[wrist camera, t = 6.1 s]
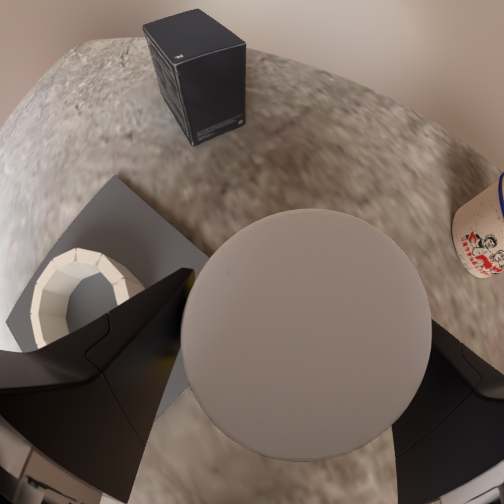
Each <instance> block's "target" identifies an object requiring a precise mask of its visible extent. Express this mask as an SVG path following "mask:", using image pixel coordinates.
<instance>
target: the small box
mask: <svg viewBox="0 0 504 504" xmlns="http://www.w3.org/2000/svg"><path fill="white" fill-rule="evenodd" d="M142 27H143V31H144V33H145V37H146V40H147V43H148V47H149V50H150V53H151V57H152V61H153V64H154V68H155V72H156V75H157V79H158V83H159V87H160V91H161V94H162V96H163V98H164V99H165V101H166V103H167V104H168V106H169V108H170V110H171V111H172V113H173V115H174V116H175V118H176V120H177V122H178V124H179V125H180V127H181V128H182V130H183V132H184V134H185V135H186V137H187V138H188V140H189V142H190V143H191V145H192V146H195V145H198V144H200V143H202V142H204V141H206V140H208V139H210V138H213V137H215V136H217V135H220V134H222V133H225V132H227V131H230V130H233V129H235V128H237V127H240V126H242V125H244V124H245V74H246V42H244V41H243V40H241V39H240V38H239V37H238V36H236V35H235V34H234V33H232V32H231V31H229V30H228V29H227V28H225V27H224V26H223V25H221V24H220V23H219V22H217V21H216V20H214V19H213V18H211V17H210V16H209V15H207V14H206V13H204V12H203V11H201V10H200V9H194V10H190V11H186V12H183V13H180V14H176V15H173V16H169V17H166V18H163V19H160V20H157V21H154V22H151V23H148V24H145V25H143V26H142Z"/></svg>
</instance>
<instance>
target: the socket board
mask: <svg viewBox="0 0 504 504" xmlns="http://www.w3.org/2000/svg"><path fill="white" fill-rule="evenodd" d="M209 259H210V258H209V257H208V256H207V255H206V254H204V253H203V252H202V251H201V250H200V249H198V248H197V247H196V246H195V245H194V244H193V243H191V242H190V241H189V240H188V239H187V238H186V237H184V236H183V235H182V234H181V233H180V232H179V231H177V230H176V229H175V228H174V227H173V226H172V225H171V224H169V223H168V222H167V221H166V220H165V219H164V218H163V217H161V216H160V215H159V214H158V213H157V212H156V211H155V210H153V209H152V208H151V207H150V206H149V205H148V204H147V203H146V202H144V201H143V200H142V199H141V198H140V197H139V196H138V195H137V194H136V193H134V192H133V191H132V190H131V189H130V188H129V187H128V186H127V185H126V184H124V183H123V182H122V181H121V180H120V179H119V178H118V177H117V176H116V175H114V176H113V177H112V178H111V179H110V180H109V181H108V182H107V183H106V184H105V185H104V187H103V188H102V189H101V190H100V191H99V192H98V193H97V194H96V195H95V196H94V197H93V199H92V200H91V201H90V202H89V203H88V204H87V205H86V207H85V208H84V209H83V210H82V211H81V212H80V214H79V215H78V216H77V217H76V218H75V220H74V221H73V222H72V223H71V225H70V226H69V227H68V228H67V230H66V231H65V232H64V233H63V235H62V236H61V237H60V239H59V240H58V241H57V243H56V244H55V245H54V247H53V248H52V249H51V251H50V252H49V253H48V255H47V256H46V258H45V259H44V261H43V262H42V263H41V265H40V266H39V268H38V269H37V271H36V272H35V274H34V275H33V277H32V278H31V280H30V281H29V283H28V285H27V286H26V288H25V289H24V291H23V293H22V294H21V296H20V298H19V299H18V301H17V303H16V304H15V306H14V308H13V310H12V311H11V313H10V315H9V317H8V319H7V321H6V324H7V325H8V327H9V329H10V331H11V333H12V335H13V336H14V338H15V340H16V342H17V343H18V345H19V347H20V348H21V350H22V352H31V351H34V350H37V349H39V348H42V347H44V346H46V345H48V344H50V343H51V342H53V341H55V340H57V339H59V338H61V337H63V336H65V335H67V334H69V333H71V332H73V331H75V330H77V329H79V328H81V327H83V326H85V325H86V324H88V323H90V322H92V321H93V320H95V319H97V318H98V317H100V316H102V315H103V314H105V313H108V311H110V310H112V309H113V308H115V307H116V306H118V305H120V304H121V303H123V302H125V301H126V300H128V299H130V298H131V297H133V296H135V295H136V294H138V293H140V292H141V291H143V290H145V289H146V288H148V287H150V286H151V285H153V284H155V283H156V282H158V281H160V280H161V279H163V278H165V277H166V276H168V275H170V274H171V273H173V272H175V271H176V270H178V269H180V268H182V267H185V268H192V269H194V271H195V281H196V279H197V277H198V275H199V274H200V272H201V270H202V269H203V267H204V266H205V264H206V263H207V261H208V260H209ZM188 385H189V382H188V379H187V375H186V371H185V367H184V362H183V356H182V350H181V347H180V350H179V353H178V355H177V358H176V361H175V364H174V366H173V369H172V372H171V374H170V377H169V380H168V383H167V386H166V388H165V391H164V394H163V397H162V400H161V402H160V405H159V408H158V411H157V414H156V417H155V420H154V422H155V421H156V419H157V418H158V417H159V416H160V415H161V414H162V413H163V412H164V411H165V410H166V409H167V408H168V407H169V406H170V404H171V403H172V402H173V401H174V400H175V399H176V398H177V397H178V396H179V395H180V394H181V392H182V391H183V390H184V389H185V388H186V387H187V386H188ZM154 422H153V423H154Z"/></svg>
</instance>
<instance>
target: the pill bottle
mask: <svg viewBox="0 0 504 504" xmlns="http://www.w3.org/2000/svg"><path fill="white" fill-rule="evenodd" d="M431 338H432V324H431V313H430V307H429V302H428V298H427V295H426V292H425V289H424V286H423V284H422V281H421V279H420V277H419V274H418V273H417V271H416V269H415V267H414V266H413V264H412V262H411V261H410V260H409V258H408V257H407V255H406V254H405V253H404V252H403V251H402V250H401V248H400V247H399V246H398V245H397V244H396V243H395V242H394V241H393V240H392V239H391V238H390V237H388V236H387V235H386V234H385V233H384V232H382V231H381V230H379V229H377V228H376V227H374V226H373V225H371V224H369V223H368V222H366V221H364V220H362V219H359V218H357V217H354V216H352V215H349V214H346V213H342V212H338V211H334V210H328V209H296V210H289V211H284V212H280V213H276V214H273V215H270V216H267V217H265V218H262V219H260V220H258V221H256V222H254V223H252V224H250V225H248V226H246V227H245V228H243V229H241V230H240V231H238V232H237V233H236V234H234V235H233V236H232V237H231V238H229V239H228V240H227V241H226V242H224V244H223V245H222V246H221V247H220V248H219V249H218V250H217V251H216V252H215V253H214V254H213V255H212V256H211V258H210V259H209V260H208V261H207V263H206V264H205V266H204V267H203V269H202V270H201V272H200V274H199V275H198V277H197V279H196V281H195V283H194V285H193V287H192V289H191V291H190V293H189V296H188V298H187V301H186V304H185V307H184V311H183V315H182V322H181V350H182V356H183V362H184V367H185V371H186V375H187V379H188V382H189V384H190V387H191V389H192V391H193V393H194V395H195V397H196V399H197V401H198V403H199V404H200V406H201V407H202V409H203V410H204V412H205V413H206V415H207V416H208V417H209V418H210V420H211V421H212V422H213V423H214V424H215V425H216V426H217V427H218V428H219V429H220V430H221V431H222V432H223V433H224V434H225V435H227V436H228V437H229V438H230V439H232V440H233V441H235V442H236V443H238V444H239V445H241V446H243V447H245V448H247V449H249V450H251V451H253V452H255V453H258V454H261V455H263V456H266V457H270V458H275V459H279V460H285V461H294V462H310V461H319V460H326V459H330V458H334V457H338V456H341V455H344V454H347V453H349V452H352V451H354V450H357V449H359V448H361V447H363V446H364V445H366V444H368V443H370V442H371V441H372V440H374V439H375V438H377V437H378V436H379V435H381V434H382V433H383V432H384V431H386V430H387V429H388V428H389V427H390V426H391V425H392V424H393V423H394V422H395V421H396V420H397V419H398V418H399V417H400V416H401V414H402V413H403V412H404V411H405V409H406V408H407V407H408V405H409V404H410V402H411V400H412V399H413V397H414V395H415V394H416V392H417V390H418V388H419V386H420V384H421V382H422V379H423V377H424V374H425V371H426V367H427V364H428V360H429V355H430V350H431Z"/></svg>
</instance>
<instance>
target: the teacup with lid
mask: <svg viewBox="0 0 504 504" xmlns="http://www.w3.org/2000/svg"><path fill="white" fill-rule="evenodd" d="M452 234H453V241H454V245H455V249H456V252H457V254H458V256H459V259H460V260H461V262H462V264H463V265H464V267H465V268H466V269H467V270H468V271H469V272H470V273H471V274H472V275H474V276H476V277H479V278H486V277H490V276H493V275H496V274H499V273H502V272H504V173H502V175H501V176H500V179H499V180H497V181H496V182H495V183H493V184H492V185H491V186H489V187H488V188H487V189H485V190H484V191H482V192H481V193H480V194H478V195H477V196H476V197H474V198H473V199H471V200H470V201H469V202H467V203H466V204H464V205H463V206H461V207H460V208H459V209H458V210H457V212H456V213H455V216H454V219H453V225H452Z"/></svg>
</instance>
